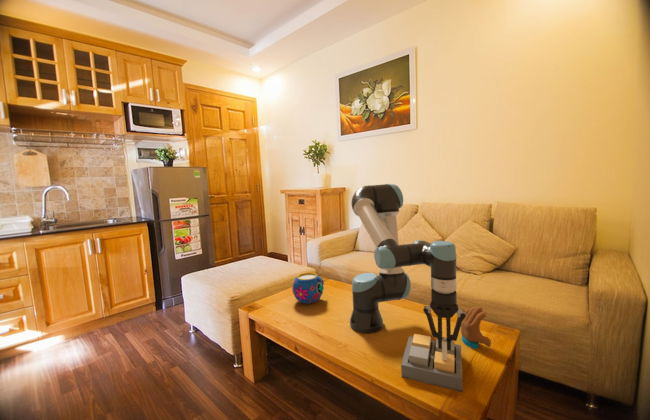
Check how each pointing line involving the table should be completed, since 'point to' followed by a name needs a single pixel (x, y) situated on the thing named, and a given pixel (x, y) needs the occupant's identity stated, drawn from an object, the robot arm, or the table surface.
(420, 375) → the button board
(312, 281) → the ceramic pot
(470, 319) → the toy
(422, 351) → the grey button near left
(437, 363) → the ochre button near right
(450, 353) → the grey button far right
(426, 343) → the ochre button far left
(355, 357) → the table surface
